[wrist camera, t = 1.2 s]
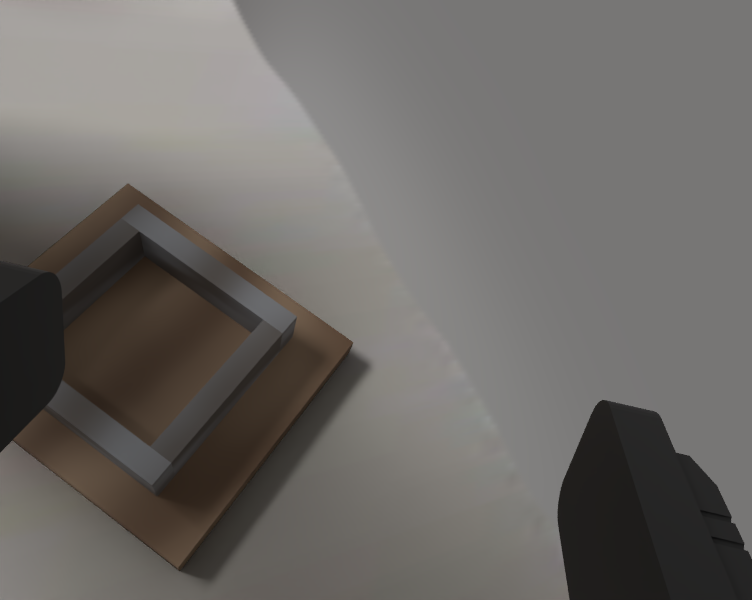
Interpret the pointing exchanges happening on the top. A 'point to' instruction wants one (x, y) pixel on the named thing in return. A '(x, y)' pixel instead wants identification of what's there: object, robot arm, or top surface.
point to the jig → (170, 373)
